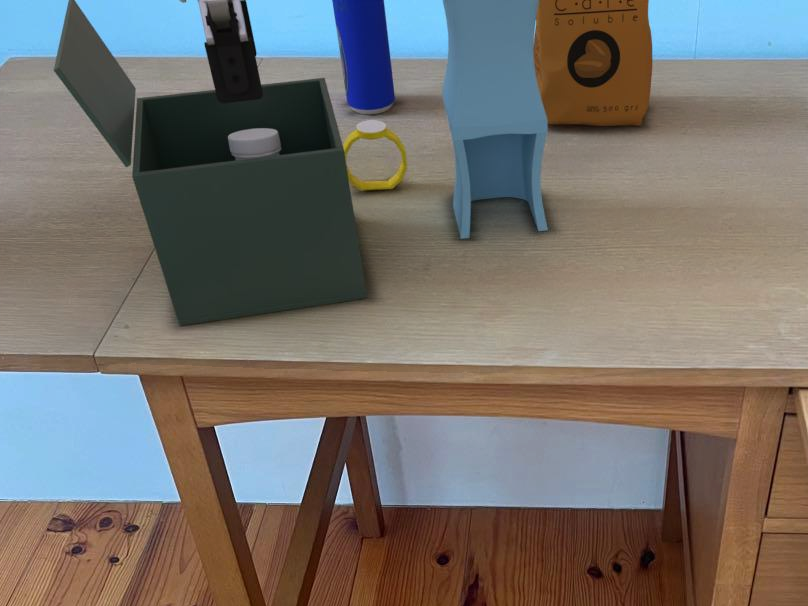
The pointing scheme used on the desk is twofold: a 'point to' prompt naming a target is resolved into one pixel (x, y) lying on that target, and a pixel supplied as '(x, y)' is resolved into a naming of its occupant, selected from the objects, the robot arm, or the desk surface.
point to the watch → (371, 132)
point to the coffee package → (593, 61)
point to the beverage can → (365, 54)
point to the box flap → (96, 81)
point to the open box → (247, 203)
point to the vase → (494, 104)
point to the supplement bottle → (254, 143)
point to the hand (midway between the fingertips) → (238, 76)
